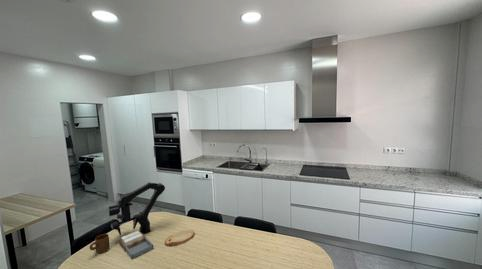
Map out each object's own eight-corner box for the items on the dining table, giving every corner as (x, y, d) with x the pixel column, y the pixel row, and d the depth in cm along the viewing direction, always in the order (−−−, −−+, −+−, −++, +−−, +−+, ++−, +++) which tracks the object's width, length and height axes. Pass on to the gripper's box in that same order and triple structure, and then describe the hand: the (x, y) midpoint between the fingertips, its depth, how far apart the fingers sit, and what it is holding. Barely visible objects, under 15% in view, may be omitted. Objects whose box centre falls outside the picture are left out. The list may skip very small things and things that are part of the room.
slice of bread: (196, 232, 149) (196, 227, 149) (187, 247, 132) (187, 242, 131) (174, 231, 151) (173, 227, 151) (162, 246, 134) (162, 241, 133)
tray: (146, 241, 139) (146, 237, 139) (153, 248, 131) (153, 244, 131) (125, 251, 129) (125, 247, 129) (131, 259, 121) (131, 255, 121)
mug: (95, 259, 122) (94, 245, 121) (86, 257, 124) (85, 243, 123) (112, 247, 133) (111, 234, 133) (103, 245, 135) (102, 232, 135)
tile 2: (140, 235, 141) (140, 233, 141) (142, 237, 139) (142, 235, 138) (123, 242, 133) (123, 240, 133) (125, 245, 131) (125, 242, 130)
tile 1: (138, 233, 145) (137, 230, 145) (140, 235, 142) (139, 232, 142) (121, 240, 137) (121, 237, 136) (123, 242, 134) (123, 239, 134)
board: (140, 235, 147) (140, 231, 147) (146, 241, 139) (146, 237, 139) (119, 243, 137) (119, 239, 137) (125, 251, 129) (124, 247, 129)
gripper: (135, 204, 156) (136, 223, 157) (108, 213, 142) (109, 233, 143) (140, 208, 148) (142, 228, 149) (112, 218, 134) (113, 239, 136)
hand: (127, 232), depth 144 cm, fingers open, 9 cm apart
